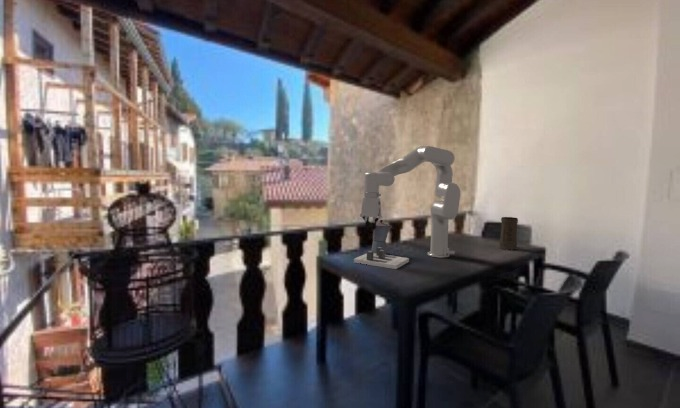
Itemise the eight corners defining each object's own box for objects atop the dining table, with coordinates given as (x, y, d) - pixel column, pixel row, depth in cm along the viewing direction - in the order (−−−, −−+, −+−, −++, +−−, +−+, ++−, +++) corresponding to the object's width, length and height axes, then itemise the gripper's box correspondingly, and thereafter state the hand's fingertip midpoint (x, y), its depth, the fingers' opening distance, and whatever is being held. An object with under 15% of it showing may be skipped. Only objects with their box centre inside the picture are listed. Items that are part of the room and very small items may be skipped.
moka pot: (390, 256, 237) (391, 221, 235) (363, 254, 240) (364, 220, 238) (391, 252, 247) (393, 219, 244) (366, 251, 250) (366, 217, 247)
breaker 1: (373, 258, 221) (373, 251, 221) (370, 260, 219) (371, 252, 218) (369, 258, 222) (369, 250, 222) (366, 259, 220) (366, 251, 219)
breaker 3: (384, 257, 224) (385, 250, 224) (382, 258, 222) (382, 251, 221) (380, 257, 225) (381, 249, 225) (378, 258, 223) (378, 250, 222)
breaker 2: (382, 254, 231) (382, 247, 231) (380, 255, 229) (380, 248, 228) (378, 253, 233) (378, 246, 232) (376, 255, 230) (376, 247, 230)
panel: (408, 261, 226) (408, 257, 225) (395, 269, 210) (396, 265, 210) (368, 255, 238) (368, 252, 237) (353, 262, 222) (353, 258, 222)
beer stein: (520, 250, 258) (521, 218, 257) (502, 250, 258) (504, 217, 257) (510, 247, 273) (511, 216, 272) (493, 246, 273) (495, 216, 273)
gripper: (388, 195, 223) (387, 230, 225) (361, 194, 231) (360, 227, 233) (382, 196, 216) (381, 232, 218) (354, 195, 224) (353, 228, 226)
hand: (370, 229), depth 225 cm, fingers open, 2 cm apart
